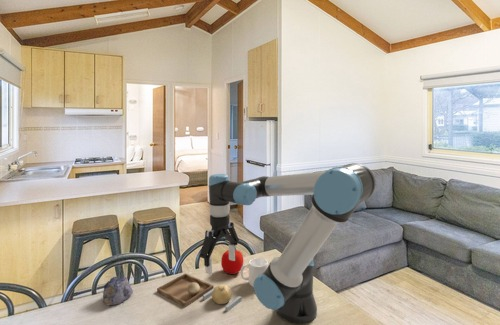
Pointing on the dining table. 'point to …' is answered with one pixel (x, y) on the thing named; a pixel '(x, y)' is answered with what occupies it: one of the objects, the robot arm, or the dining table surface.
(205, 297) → the cradle
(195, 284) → the ball
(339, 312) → the dining table surface
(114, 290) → the rock
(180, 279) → the tray
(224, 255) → the tomato
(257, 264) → the cup
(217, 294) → the onion
